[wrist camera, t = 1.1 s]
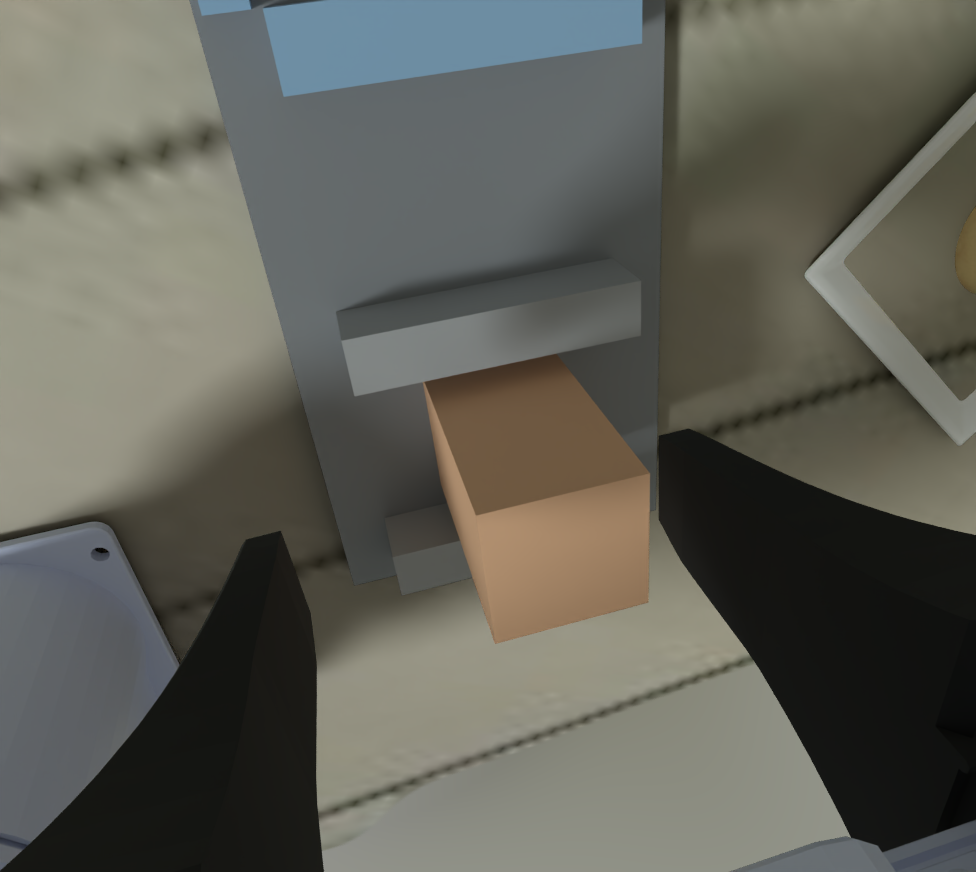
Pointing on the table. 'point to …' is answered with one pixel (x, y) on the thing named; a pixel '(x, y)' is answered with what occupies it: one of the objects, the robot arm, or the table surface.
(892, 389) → the table surface
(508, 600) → the tan cardboard block
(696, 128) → the table surface
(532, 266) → the grey fixture plate
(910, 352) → the dessert
